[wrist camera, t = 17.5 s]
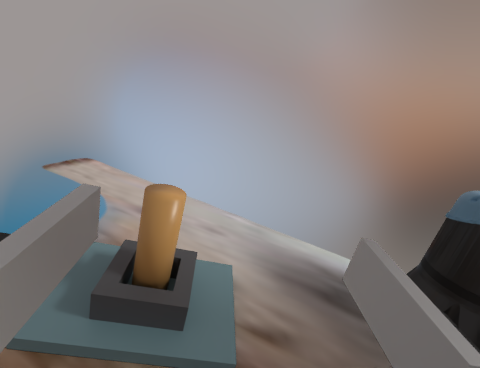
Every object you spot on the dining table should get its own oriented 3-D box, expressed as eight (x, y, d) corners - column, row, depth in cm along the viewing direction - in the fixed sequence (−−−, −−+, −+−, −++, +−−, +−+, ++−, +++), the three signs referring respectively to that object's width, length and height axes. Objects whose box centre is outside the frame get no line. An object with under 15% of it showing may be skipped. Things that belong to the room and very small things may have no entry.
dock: (229, 272, 43) (237, 247, 41) (232, 374, 28) (244, 340, 26) (88, 249, 40) (89, 220, 38) (6, 348, 25) (3, 308, 23)
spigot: (170, 282, 36) (189, 189, 31) (162, 308, 32) (183, 205, 27) (136, 276, 35) (151, 180, 30) (124, 302, 31) (139, 196, 26)
